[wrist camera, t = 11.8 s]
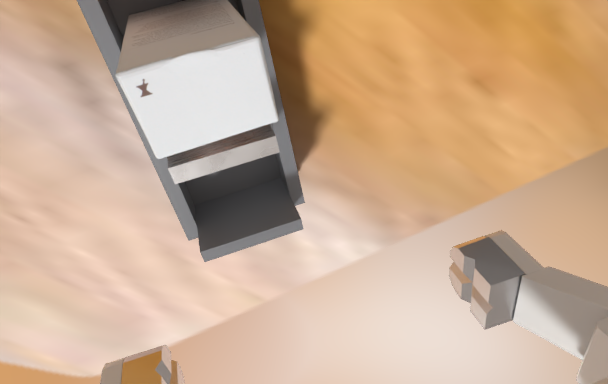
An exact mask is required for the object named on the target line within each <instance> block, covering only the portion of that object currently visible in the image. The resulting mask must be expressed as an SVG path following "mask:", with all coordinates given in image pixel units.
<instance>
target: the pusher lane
mask: <svg viewBox="0 0 608 384" xmlns="http://www.w3.org/2000/svg"><path fill="white" fill-rule="evenodd" d="M181 1H185V0H77V2H78V4H79V6H80V8H81V10H82V13H83V15H84V17H85V19H86V21H87V23H88V25H89V28H90V30H91V32H92V34H93V36H94V38H95V40H96V43H97V45H98V47H99V49H100V51H101V53H102V56H103V58H104V60H105V62H106V64H107V66H108V68H109V71H110V73H111V75H112V77H113V79H114V81H115V83H116V86H117V88H118V90H119V92H120V94H121V96H122V98H123V101H124V103H125V105H126V107H127V109H128V111H129V114H130V116H131V118H132V120H133V122H134V124H135V126H136V129H137V131H138V133H139V135H140V137H141V139H142V141H143V144H144V146H145V148H146V150H147V152H148V154H149V156H150V159H151V161H152V163H153V165H154V167H155V169H156V171H157V174H158V176H159V178H160V180H161V182H162V184H163V187H164V189H165V191H166V193H167V195H168V197H169V199H170V202H171V204H172V206H173V208H174V210H175V212H176V214H177V217H178V219H179V221H180V223H181V225H182V227H183V229H184V232H185V234H186V236H187V238H188V240H192V239H195V238H199V246H200V253H201V255H202V257H203V259H204V261H205V262H207V261H210V260H213V259H216V258H219V257H222V256H225V255H227V254H230V253H233V252H236V251H239V250H242V249H245V248H248V247H251V246H254V245H257V244H260V243H263V242H266V241H269V240H272V239H275V238H278V237H281V236H284V235H287V234H290V233H293V232H296V231H299V230H302V229H303V225H302V221H301V218H300V216H299V214H298V212H297V210H296V207H295V206H296V205H299V204H302V203H305V202H304V197H303V193H302V188H301V184H300V180H299V175H298V171H297V166H296V162H295V158H294V153H293V149H292V144H291V140H290V136H289V131H288V127H287V122H286V118H285V114H284V109H283V105H282V100H281V96H280V92H279V87H278V83H277V78H276V74H275V70H274V65H273V61H272V56H271V52H270V48H269V43H268V39H267V34H266V30H265V26H264V21H263V17H262V12H261V8H260V4H259V0H228V1H229V2H230V4H231V5H232V6H233V7H234V8H235V9H236V11H237V12H238V13H239V14H240V15H241V16H242V17H243V19H244V20H245V21H246V22H247V23H248V24H249V25H250V26H251V28H252V29H253V30H254V31H255V32H256V33H257V34H258V35H259V36H260V38H261V43H262V47H263V51H264V55H265V60H266V64H267V68H268V73H269V77H270V81H271V86H272V90H273V95H274V100H275V104H276V109H277V113H278V118H279V120H278V122H275V123H271V124H270V126H271V128H272V130H273V132H274V133H275V135H276V139H277V143H278V147H279V151H280V152H279V153H276V154H272V155H269V156H266V157H263V158H259V159H256V160H253V161H250V162H246V163H243V164H240V165H237V166H233V167H230V168H227V169H224V170H220V171H217V172H214V173H211V174H207V175H204V176H201V177H198V178H194V179H191V180H188V181H185V182H182V183H178V184H175V183H174V181H173V179H172V177H171V174H170V172H169V170H168V160H167V157H164V158H161V159H157V158H156V157H155V155H154V153H153V151H152V148H151V146H150V144H149V142H148V140H147V138H146V136H145V134H144V132H143V130H142V128H141V126H140V124H139V122H138V120H137V118H136V116H135V114H134V112H133V110H132V108H131V106H130V104H129V102H128V100H127V98H126V96H125V94H124V92H123V90H122V88H121V86H120V84H119V82H118V80H117V78H116V71H117V67H118V63H119V58H120V53H121V49H122V44H123V39H124V35H125V31H126V26H127V21H128V17H129V15H131V14H135V13H139V12H143V11H147V10H150V9H154V8H158V7H162V6H166V5H169V4H173V3H177V2H181Z"/></svg>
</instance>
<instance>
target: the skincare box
mask: <svg viewBox="0 0 608 384" xmlns="http://www.w3.org/2000/svg"><path fill="white" fill-rule="evenodd" d="M116 78H117V80H118V82H119V84H120V86H121V88H122V90H123V92H124V94H125V96H126V98H127V100H128V102H129V104H130V106H131V108H132V110H133V112H134V114H135V116H136V118H137V120H138V122H139V124H140V126H141V128H142V130H143V132H144V134H145V136H146V138H147V140H148V142H149V144H150V146H151V148H152V151H153V153H154V155H155V157H156V158H157V159H161V158H164V157H167V156H171V155H174V154H177V153H180V152H183V151H187V150H190V149H193V148H196V147H199V146H202V145H206V144H209V143H212V142H215V141H218V140H221V139H224V138H227V137H230V136H233V135H236V134H239V133H242V132H245V131H249V130H252V129H255V128H258V127H261V126H264V125H268V124H271V123H275V122H278V120H279V118H278V113H277V109H276V104H275V100H274V95H273V90H272V86H271V81H270V77H269V73H268V68H267V64H266V60H265V55H264V51H263V47H262V43H261V38H260V36H259V35H258V34H257V33H256V32H255V31H254V30H253V29H252V28H251V26H250V25H249V24H248V23H247V22H246V21H245V20H244V19H243V17H242V16H241V15H240V14H239V13H238V12H237V11H236V9H235V8H234V7H233V6H232V5H231V4H230V2H229V1H228V0H185V1H181V2H177V3H173V4H169V5H166V6H162V7H158V8H154V9H150V10H147V11H143V12H139V13H135V14H131V15H129V17H128V21H127V26H126V31H125V35H124V39H123V44H122V49H121V53H120V58H119V63H118V67H117V71H116Z"/></svg>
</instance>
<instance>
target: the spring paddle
mask: <svg viewBox="0 0 608 384" xmlns="http://www.w3.org/2000/svg"><path fill="white" fill-rule="evenodd" d="M279 152H280V151H279V147H278V143H277V139H276V135H275V133H274V132H273V130H272V128H271V126H270V124H268V125H264V126H261V127H258V128H255V129H252V130H249V131H245V132H242V133H239V134H236V135H233V136H230V137H227V138H224V139H221V140H218V141H215V142H212V143H209V144H206V145H202V146H199V147H196V148H193V149H190V150H187V151H183V152H180V153H177V154H174V155H171V156H167V160H168V170H169V172H170V174H171V177H172V179H173V181H174V183H175V184H178V183H182V182H185V181H188V180H191V179H194V178H198V177H201V176H204V175H207V174H211V173H214V172H217V171H220V170H224V169H227V168H230V167H233V166H237V165H240V164H243V163H246V162H250V161H253V160H256V159H259V158H263V157H266V156H269V155H272V154H276V153H279Z"/></svg>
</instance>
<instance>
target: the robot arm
mask: <svg viewBox="0 0 608 384" xmlns="http://www.w3.org/2000/svg"><path fill="white" fill-rule="evenodd" d="M450 257H451V259H452V260H453V261H454V262H453V264H452V265H451V267H450V268H449V269H450V271H449V276H450V279H451V283H452V286H453V287H454V289H455V291H456V292H457V294H458V295H459V297H460V298H461V299H463V300H465V301H467V302H470V303H471V306H470V311H471V313H472V314H473V315H474V316H475V318H476V319H477V320H478V322H479V323H480V324H481V325H482V327H483V328H484V329H488V328H491V327H494V326H496V325H500V324H503V323H506V322H508V321H512V320H513V322H514V323H516V324H518V325H520V326H522V327H524V328H525V329H527V330H529V331H531V332H532V333H534V334H536V335H538V336H540V337H541V338H543V339H545V340H547V341H548V342H551V343H552V344H554V345H556V346H558V347H559V348H561V349H563V350H565V351H567V352H568V353H570V354H572V355H574V356H576V357H578V358H579V359H581V360H582V363H581V366H580V368H579V370H578V373H577V377H576V381H577V382H578V383H579V384H608V287H607V286H604V285H601V284H598V283H595V282H592V281H589V280H586V279H584V278H581V277H578V276H575V275H572V274H569V273H566V272H564V271H561V270H558V269H555V268H552V267H546V268H544V267H543V266H542V265H541V264H539V263H538V262H537V261H536V260H535V259H534V258H533V257H532V256H531V255H530V254H529V253H528V252H526V251H525V250H524V249H523V248H522V247H521V246H520V245H519V244H518V243H517V242H516V241H515V240H514V239H512V238H511V237H510V236H509V235H508V234H507V233H506V232H504V231H502V230H501V231H498V232H495V233H492V234H489V235H486V236H482V237H479V238H476V239H474V240H471V241H468V242H465V243H462V244H459V245H457V246H454V247H452V249H451V250H450ZM100 384H185V382H184V377H183V373H182V371H181V368H180V366H179V364H178V363H177V362H176V361H173V360H171V351H170V350H169V349H168V347H167V346H166V345H164V346H160V347H157V348H154V349H151V350H147V351H144V352H141V353H138V354H134V355H131V356H128V357H125V358H122V359H119V360H116V361H113V362H110V363H107V364H105V366H104V368H103V370H102V375H101V383H100Z"/></svg>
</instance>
